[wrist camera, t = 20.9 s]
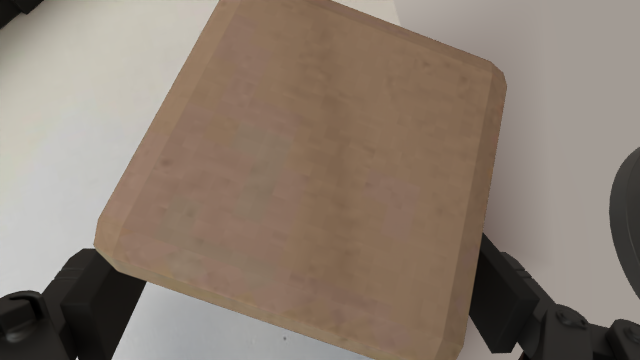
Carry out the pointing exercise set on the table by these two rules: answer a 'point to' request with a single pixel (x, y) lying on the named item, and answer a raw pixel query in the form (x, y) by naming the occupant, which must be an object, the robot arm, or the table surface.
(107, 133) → the table surface
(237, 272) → the wooden block
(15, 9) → the book
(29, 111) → the table surface
